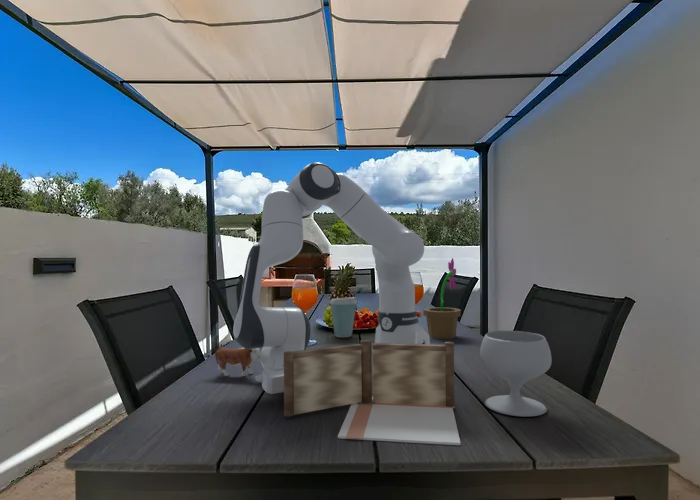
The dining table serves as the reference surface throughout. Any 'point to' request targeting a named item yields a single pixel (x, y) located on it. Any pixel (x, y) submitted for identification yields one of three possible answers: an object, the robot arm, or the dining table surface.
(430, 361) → the fence fixed
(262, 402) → the dining table surface
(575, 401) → the dining table surface
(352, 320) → the disposable coffee cup
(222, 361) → the bull figurine
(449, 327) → the flowerpot
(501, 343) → the chalice
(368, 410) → the card
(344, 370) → the fence panel
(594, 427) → the dining table surface
